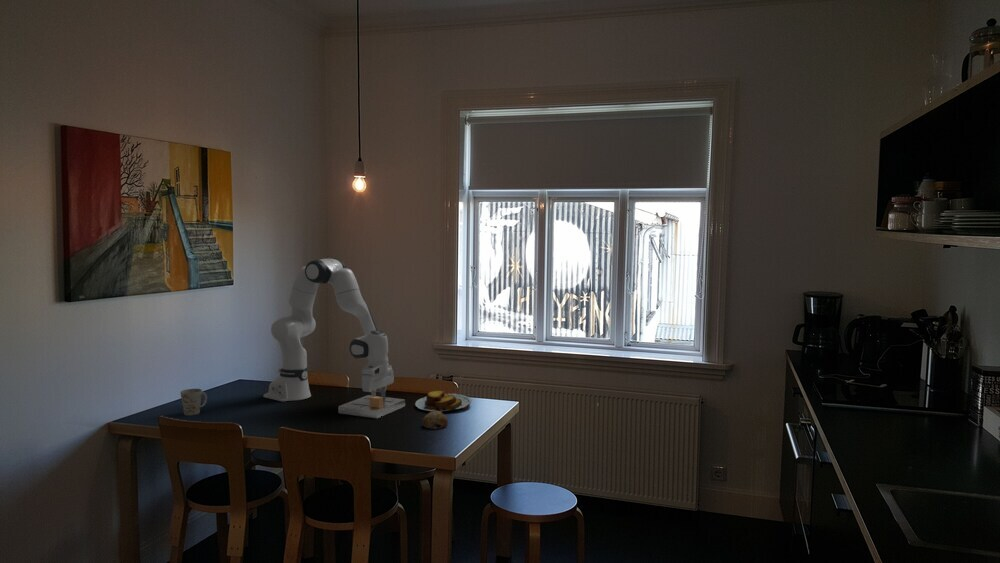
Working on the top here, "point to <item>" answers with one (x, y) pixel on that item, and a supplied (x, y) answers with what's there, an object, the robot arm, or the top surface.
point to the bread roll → (435, 420)
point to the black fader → (380, 393)
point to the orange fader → (376, 401)
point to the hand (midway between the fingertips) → (378, 397)
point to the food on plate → (442, 401)
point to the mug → (192, 401)
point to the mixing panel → (363, 407)
